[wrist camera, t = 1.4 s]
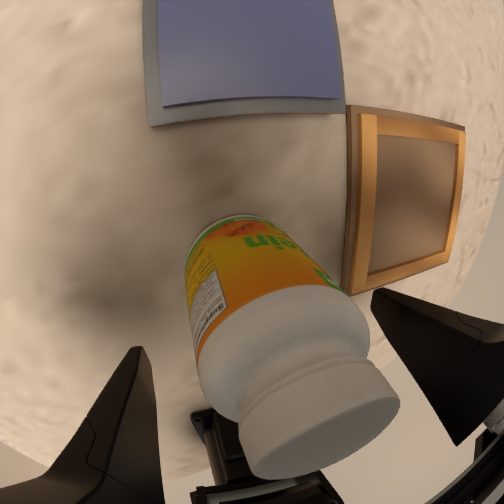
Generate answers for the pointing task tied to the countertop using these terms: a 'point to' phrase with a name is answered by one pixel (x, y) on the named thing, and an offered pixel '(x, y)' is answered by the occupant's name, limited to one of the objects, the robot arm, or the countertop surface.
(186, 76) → the ink pad
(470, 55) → the countertop surface
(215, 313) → the supplement bottle
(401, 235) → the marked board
